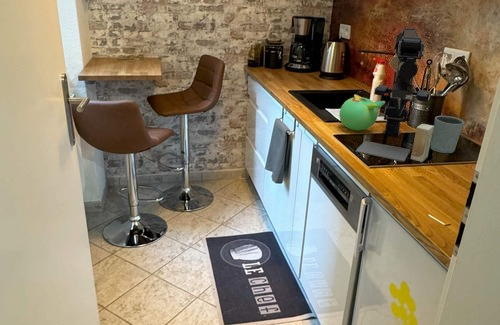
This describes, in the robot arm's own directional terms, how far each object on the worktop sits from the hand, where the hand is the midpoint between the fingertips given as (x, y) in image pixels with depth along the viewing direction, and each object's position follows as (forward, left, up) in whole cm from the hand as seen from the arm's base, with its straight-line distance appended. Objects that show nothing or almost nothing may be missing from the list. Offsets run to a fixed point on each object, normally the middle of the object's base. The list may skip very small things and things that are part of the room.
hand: (398, 115), depth 151 cm
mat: (+5, -2, -13) cm, 14 cm away
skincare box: (+5, +10, -13) cm, 18 cm away
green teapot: (-16, -18, -13) cm, 28 cm away
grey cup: (-10, +17, -13) cm, 24 cm away
